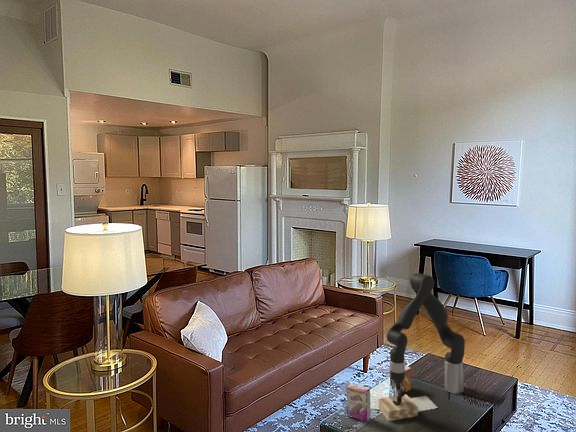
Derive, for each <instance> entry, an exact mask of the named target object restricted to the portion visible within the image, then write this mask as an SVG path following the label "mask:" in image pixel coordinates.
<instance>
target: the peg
mask: <svg viewBox="0 0 576 432" xmlns="http://www.w3.org/2000/svg"><path fill="white" fill-rule="evenodd" d="M397 390H399V389H397ZM398 405H401V403H398V402H397V392H396V388H395V406H398Z"/></svg>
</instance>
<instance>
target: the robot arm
mask: <svg viewBox="0 0 576 432" xmlns="http://www.w3.org/2000/svg"><path fill="white" fill-rule="evenodd" d="M409 285H410V287H411V289H412V290H413V292H414V293H415V295H416V296H415V297H414V298H412V300H410V302H408V303H407V304H406V305H405V306H404V307H403V309H401V312H400V314H399V316H398V318H397V320H396V321H395V323H394V324H393V325H392V326H391V327H390V328H389V329H388V331H387V333H386V340H387V342H389V343H390V344H392V345H394V346H396V347H392V348H391V349H390V351H389V381H390V386H391V387H390V388H391V390H392V392H393V397H394V399H395V388H396V392H397V402H398V403H401V402H402V397H403V396H404V395H406V394H405V393H406V392H405V391H406V388H403V382H402V381H403V380H404V379H405V365H406V364H405V354H406V353H405V352H406V350H407V349H406V348H407V345H408V342H409V341H408V336H407V335H406V334H405V333H404V332H402V331H403V330H410V328H411V326H412V324H413V322H414V320H415V317H416V316H417V314H418V312H419V310H420V309H421V308H422V306H423V307H424V309H425V311H426V312H427V314H428V316H429V318H430V320H431V321H432V323H433V326H434V327H435V329H436V331H437V333H438V336H439V338H440V341H441V343H442V345H444V346H445V347H446V348H449V349H450V352H447V353H445V355H444V390H445V391H446V392H448V393H449V392H450V394H456V395H457V394H458V395H459V394H462V393H463V392H464V391H465V375H464V373H463V363H464V362H463V359H464V357H465V348H466V346H465V345H466V343H465V342H466V341H465V338H464V336H463V334H460V333H458V332H456V331H453V330H452V329H451V327H450V326H449V324H448V318H449V315H448V311H447V310H446V307H445V306H444V304H443V303H442V302H441V301H440V300H439V299H438V298H437V297H436V296H435V295H434V294H433V293H432V291H433V289H434V287H435V279H434V278H433V277H432V275H428V274H425V273H417V272H415V273H413V274H411V276H410V278H409ZM397 389H399V390H397Z"/></svg>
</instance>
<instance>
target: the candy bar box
mask: <svg viewBox="0 0 576 432" xmlns="http://www.w3.org/2000/svg"><path fill="white" fill-rule="evenodd" d="M347 415H349V416H352V417H354V418H357V419H356V420H358V419H360V420H359V421H361V420H363V421H362V422H364V421H365V423H368V422H369V421H370V419H371V387H368V386H367V387H366V386H363V385H358V384H357V383H356V384H355V383H351V382H349V384H348V385H346V416H347ZM354 418H353V419H354Z"/></svg>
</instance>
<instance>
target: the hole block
mask: <svg viewBox="0 0 576 432" xmlns="http://www.w3.org/2000/svg"><path fill="white" fill-rule="evenodd" d="M410 398H411V397H410V396H408V394H404V396H403V397H402V402H401V405H398V406H395V399H394V396H389V397H383V398H378V409H379V411H380V412H381V413H382V414H383V416H384V417H385V419H386V420H387V421H388V422H391V421H397V420H402V419H409V418H413V417H418V416H419V412H418V406H417V405H416V404H415V403H414V402H413V401H412V400H411V399H410Z"/></svg>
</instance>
